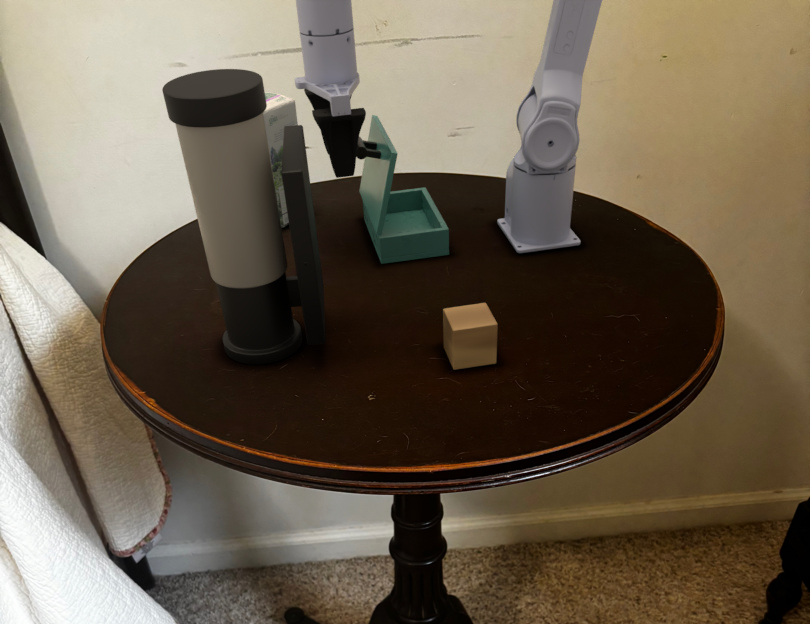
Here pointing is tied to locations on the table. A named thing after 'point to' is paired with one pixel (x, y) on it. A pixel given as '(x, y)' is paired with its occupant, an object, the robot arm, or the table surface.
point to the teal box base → (410, 228)
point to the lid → (376, 172)
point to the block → (470, 336)
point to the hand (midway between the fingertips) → (340, 164)
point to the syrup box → (278, 141)
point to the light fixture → (249, 213)
